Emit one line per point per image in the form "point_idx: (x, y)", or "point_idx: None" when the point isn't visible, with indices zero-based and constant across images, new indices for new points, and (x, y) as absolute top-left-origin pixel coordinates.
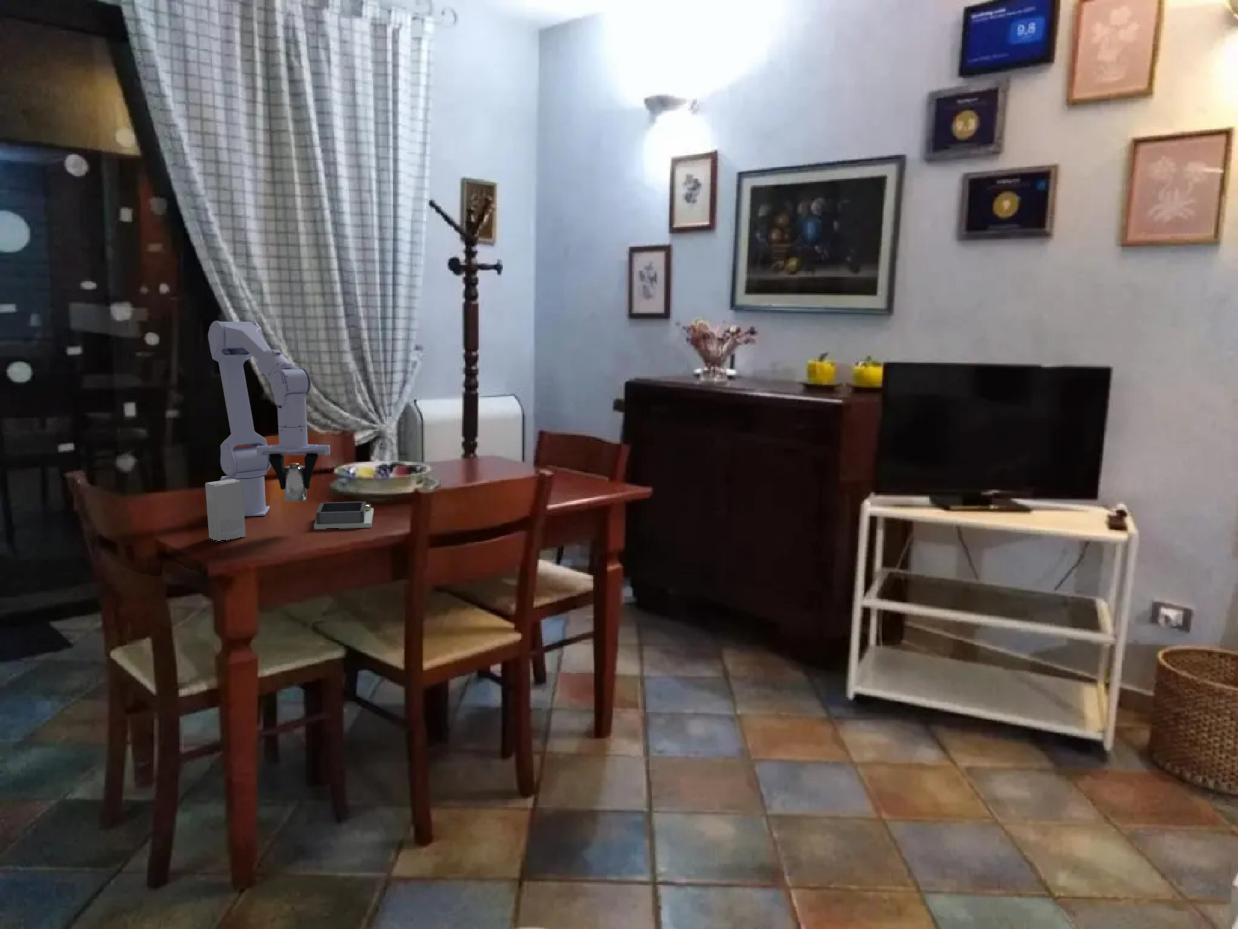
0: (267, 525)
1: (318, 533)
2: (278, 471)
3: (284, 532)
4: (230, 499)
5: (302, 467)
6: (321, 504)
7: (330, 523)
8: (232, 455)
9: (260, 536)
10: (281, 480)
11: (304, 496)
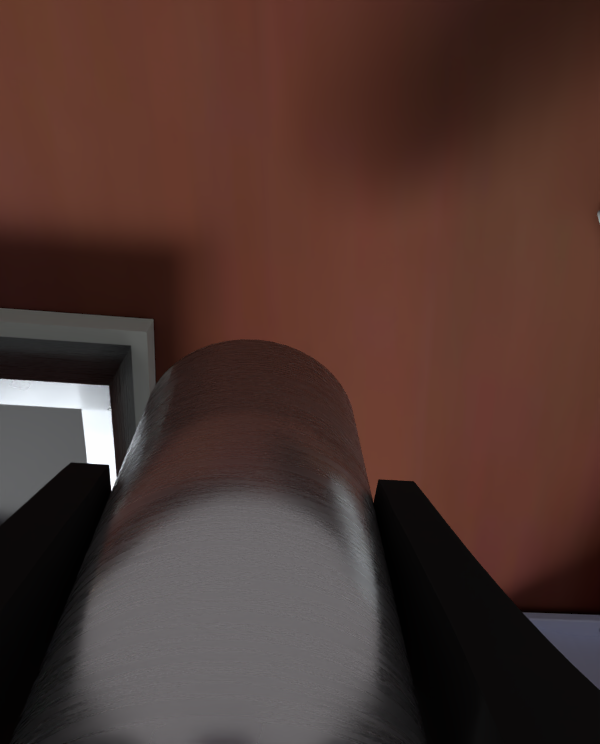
0: (432, 456)
1: (107, 206)
2: (553, 700)
3: (340, 284)
4: None
5: None
6: None
7: (33, 340)
8: None
9: (497, 213)
10: (438, 559)
11: (148, 406)
